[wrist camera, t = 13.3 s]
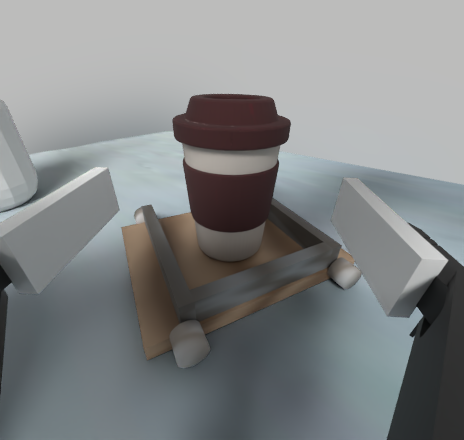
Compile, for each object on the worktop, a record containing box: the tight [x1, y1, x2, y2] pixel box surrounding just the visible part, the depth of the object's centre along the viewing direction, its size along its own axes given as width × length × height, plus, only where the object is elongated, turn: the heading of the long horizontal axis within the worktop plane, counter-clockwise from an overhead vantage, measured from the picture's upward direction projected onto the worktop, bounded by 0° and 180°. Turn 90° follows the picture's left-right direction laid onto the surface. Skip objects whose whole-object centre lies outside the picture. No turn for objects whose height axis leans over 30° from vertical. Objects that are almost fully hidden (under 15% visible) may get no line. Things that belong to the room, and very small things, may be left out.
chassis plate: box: [121, 198, 362, 368], centre depth 27 cm, size 22×21×4 cm
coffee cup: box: [173, 94, 291, 262], centre depth 23 cm, size 10×10×15 cm
